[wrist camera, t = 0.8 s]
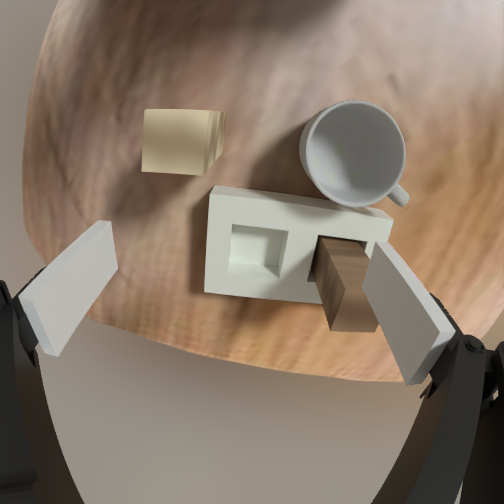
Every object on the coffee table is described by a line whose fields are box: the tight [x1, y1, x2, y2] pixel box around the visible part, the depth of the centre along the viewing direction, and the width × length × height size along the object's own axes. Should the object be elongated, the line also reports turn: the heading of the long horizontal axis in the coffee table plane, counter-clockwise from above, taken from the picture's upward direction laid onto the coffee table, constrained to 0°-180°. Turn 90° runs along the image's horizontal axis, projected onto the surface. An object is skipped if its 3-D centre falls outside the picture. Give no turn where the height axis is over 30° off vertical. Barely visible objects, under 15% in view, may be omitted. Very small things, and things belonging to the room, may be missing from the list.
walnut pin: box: [311, 235, 379, 332], centre depth 31 cm, size 5×5×13 cm
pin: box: [142, 109, 226, 176], centre depth 25 cm, size 5×5×13 cm
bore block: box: [204, 185, 394, 304], centre depth 36 cm, size 13×22×4 cm, turn 83°
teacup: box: [299, 100, 409, 207], centre depth 29 cm, size 14×11×8 cm
